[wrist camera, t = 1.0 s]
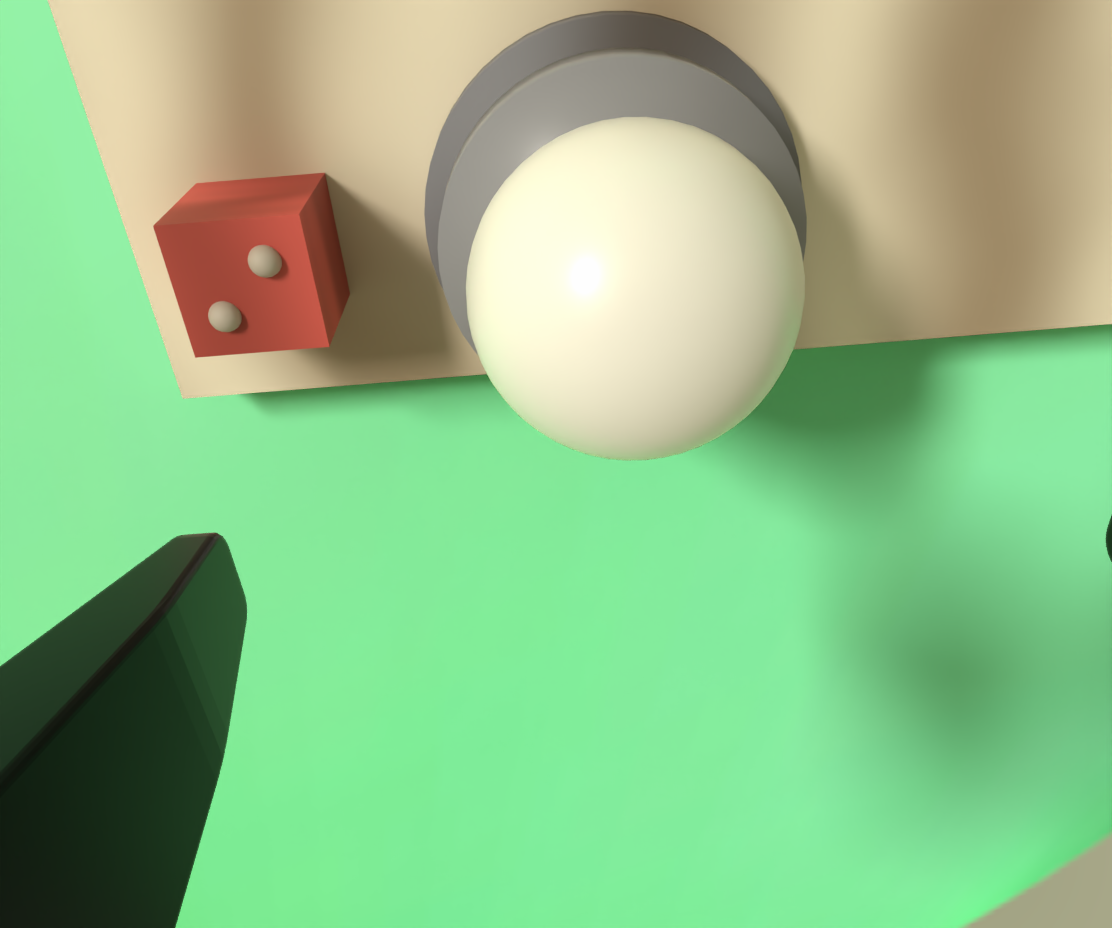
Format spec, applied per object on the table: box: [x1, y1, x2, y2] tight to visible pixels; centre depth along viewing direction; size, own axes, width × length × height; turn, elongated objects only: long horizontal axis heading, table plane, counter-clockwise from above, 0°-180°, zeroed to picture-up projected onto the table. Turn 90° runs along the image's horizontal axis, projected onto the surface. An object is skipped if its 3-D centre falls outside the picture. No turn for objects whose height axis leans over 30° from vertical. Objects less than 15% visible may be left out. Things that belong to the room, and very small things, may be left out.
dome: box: [438, 48, 807, 460], centre depth 15 cm, size 7×7×6 cm
